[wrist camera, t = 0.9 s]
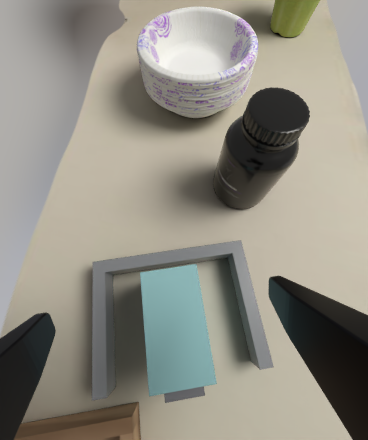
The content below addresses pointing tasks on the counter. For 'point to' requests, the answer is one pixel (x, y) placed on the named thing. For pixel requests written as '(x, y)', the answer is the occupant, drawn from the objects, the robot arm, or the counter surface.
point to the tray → (87, 425)
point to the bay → (107, 268)
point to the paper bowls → (197, 60)
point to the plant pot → (291, 16)
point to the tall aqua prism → (176, 333)
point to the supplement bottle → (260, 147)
